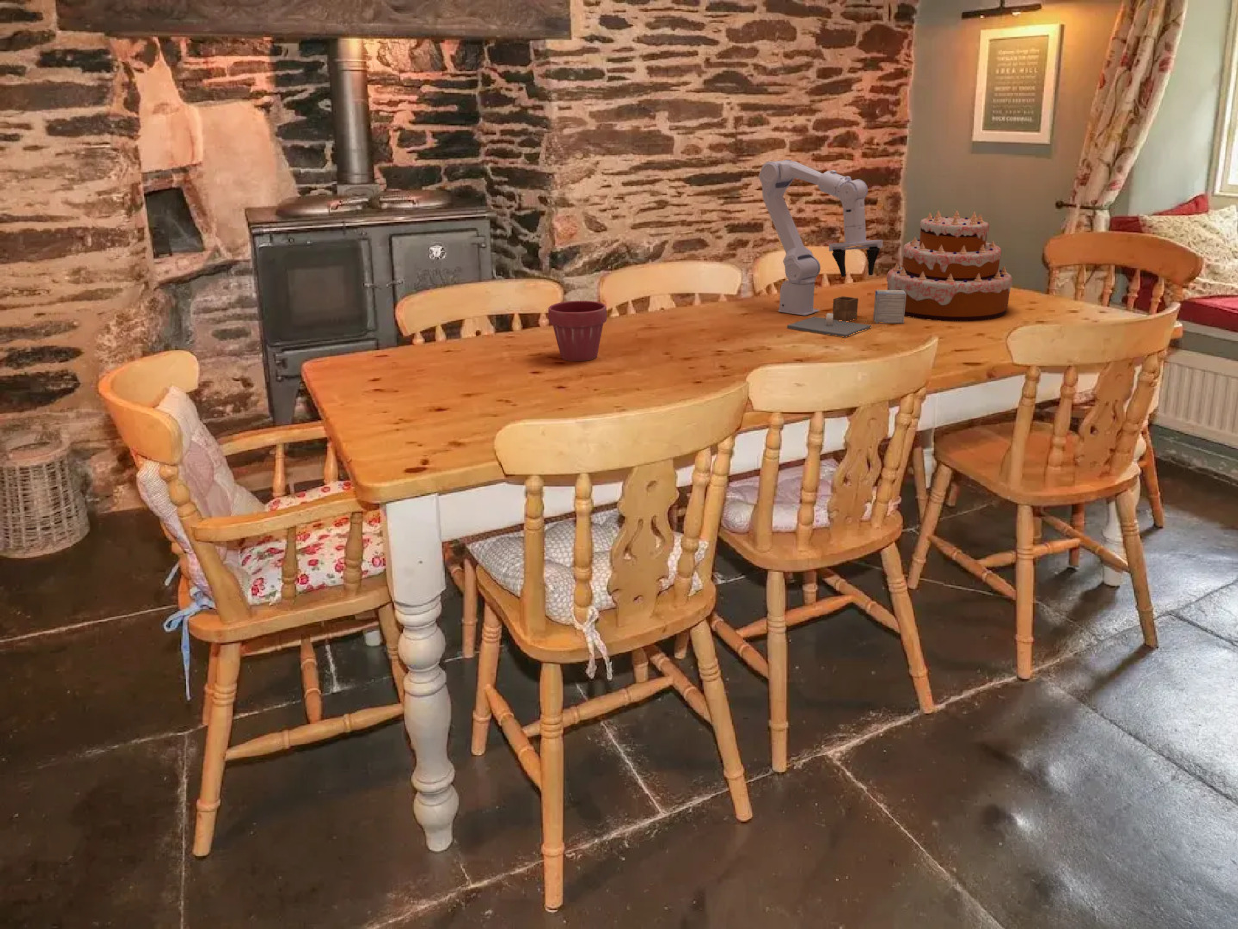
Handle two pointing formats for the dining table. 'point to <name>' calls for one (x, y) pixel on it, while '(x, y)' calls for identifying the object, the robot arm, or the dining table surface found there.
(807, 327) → the pin board
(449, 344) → the dining table surface
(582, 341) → the plant pot
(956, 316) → the cake
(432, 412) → the dining table surface
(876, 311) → the medicine box
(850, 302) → the walnut collar
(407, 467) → the dining table surface
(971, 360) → the dining table surface
